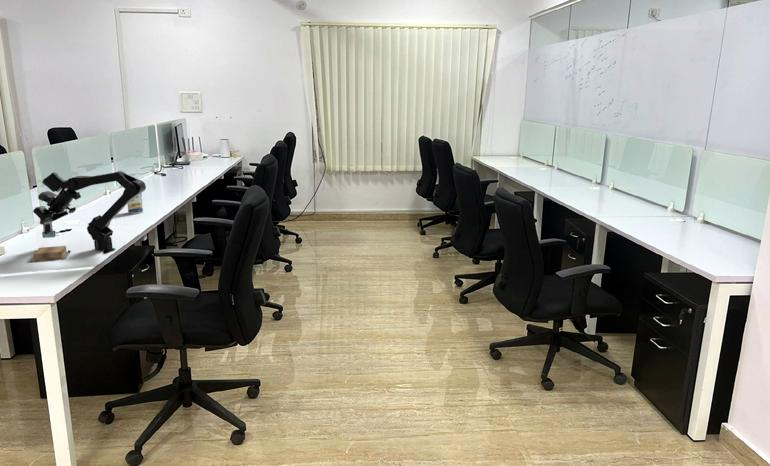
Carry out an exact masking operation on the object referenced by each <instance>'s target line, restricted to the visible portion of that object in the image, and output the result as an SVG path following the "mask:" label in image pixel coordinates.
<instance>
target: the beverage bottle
mask: <svg viewBox="0 0 770 466" xmlns="http://www.w3.org/2000/svg"><path fill="white" fill-rule="evenodd" d="M135 178H136V177H135ZM136 179H137V180H139V178H136ZM142 196H143V194H142V193H141V194H139V195H138V196H136V197H135V198H133V199H132V200H131V201H130V202H129V203H128V204H127V205H126V206H127V212H128V213H129V214H133V215H134V214H135V215H136V214H141V213H143V212H144V207H143V199H142Z"/></svg>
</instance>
